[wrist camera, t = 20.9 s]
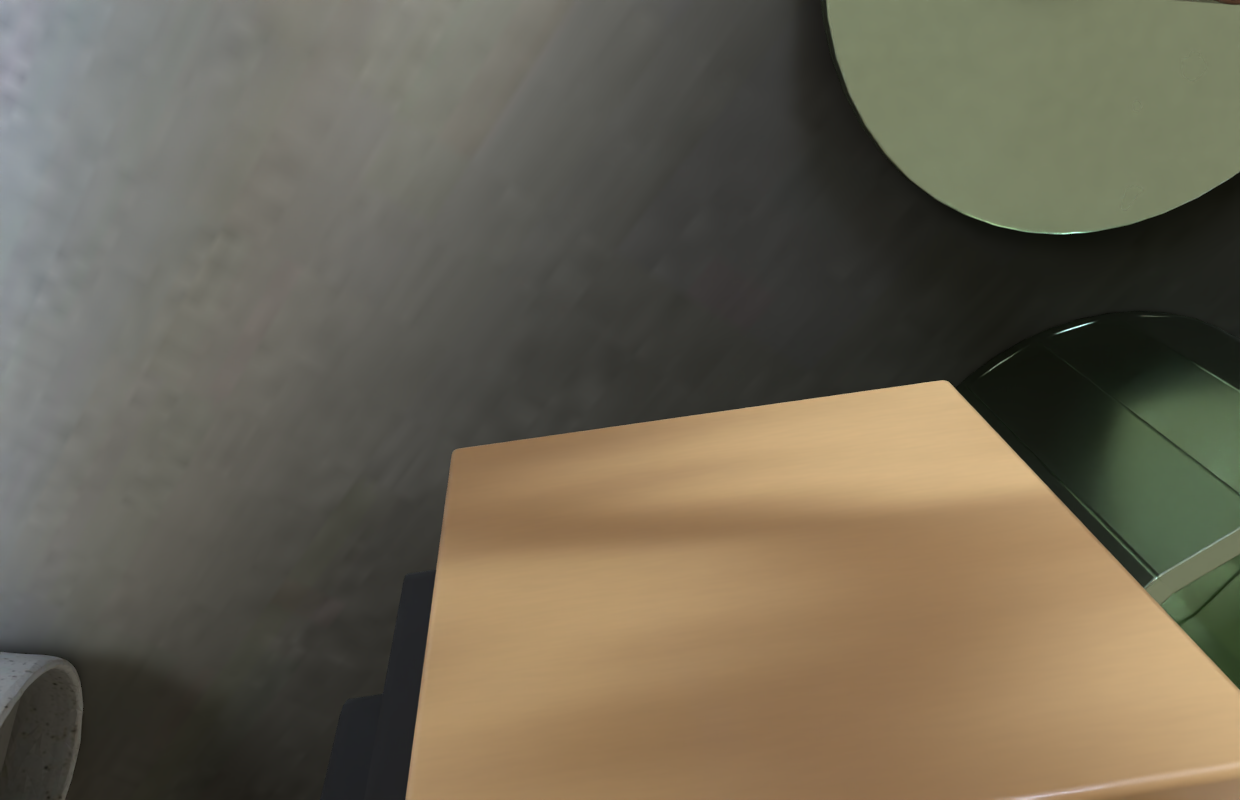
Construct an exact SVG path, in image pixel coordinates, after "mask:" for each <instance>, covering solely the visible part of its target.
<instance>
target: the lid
mask: <svg viewBox="0 0 1240 800" xmlns="http://www.w3.org/2000/svg"><path fill="white" fill-rule="evenodd" d="M821 10H822V19H823V23H824V28H825V33H826V38H827V42H828V47H829V52H830V56H831V59H832V62H833V65H834V67H835V70H836V73H837V76H838V79H839V82H840V84H841V87H842V90H843V92H844V94H845V96H846V98H847V100H848V102H849V104H850V106H851V108H852V110H853V112H854V114H855V116H856V118H857V120H858V121H859V123H860V125H861V126H862V128H863V129H864V130H865V132H866V133H867V135H868V136H869V137H870V139H871V140H872V142H873V143H874V144H875V146H876V147H877V149H878V150H879V151H880V153H881V154H882V155H883V156H884V157H885V158H886V159H887V160H888V161H889V162H890V163H891V164H892V165H893V166H894V167H895V168H896V169H897V170H898V171H899V172H900V173H901V174H902V175H903V176H904V177H905V178H906V179H908V180H909V181H910V182H912V183H913V184H914V185H916V186H917V187H918V188H920V189H921V190H922V191H924V192H925V193H926V194H927V195H929V196H930V197H932V198H934V199H935V200H937V201H939V202H941V203H943V204H944V205H946V206H948V207H950V208H952V209H954V210H955V211H957V212H959V213H961V214H963V215H965V216H968V217H971V218H973V219H976V220H979V221H982V222H984V223H987V224H990V225H993V226H996V227H1001V228H1006V229H1011V230H1016V231H1021V232H1026V233H1040V234H1056V235H1063V234H1076V233H1090V232H1097V231H1102V230H1107V229H1112V228H1117V227H1122V226H1127V225H1131V224H1134V223H1137V222H1140V221H1143V220H1146V219H1149V218H1152V217H1155V216H1158V215H1161V214H1164V213H1166V212H1168V211H1171V210H1173V209H1175V208H1177V207H1179V206H1181V205H1184V204H1186V203H1188V202H1190V201H1192V200H1195V199H1197V198H1199V197H1200V196H1202V195H1204V194H1205V193H1207V192H1209V191H1210V190H1212V189H1214V188H1215V187H1217V186H1219V185H1220V184H1222V183H1224V182H1225V181H1227V180H1229V179H1231V178H1232V177H1233V176H1235V175H1236V174H1237V173H1239V172H1240V0H821Z"/></svg>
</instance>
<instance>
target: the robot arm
mask: <svg viewBox="0 0 1240 800" xmlns="http://www.w3.org/2000/svg"><path fill="white" fill-rule="evenodd" d="M435 575H436V570H431V571H424V572H417V573H410V574H407V575H406V576H405V578H404V582H403V588H402V593H401V599H400V604H399V610H398V615H397V620H396V626H395V631H394V637H393V642H392V648H391V653H390V659H389V664H388V670H387V675H386V681H385V686H384V692H383V694H380V695H373V696H367V697H360V698H353V699H348V700H347V701H346V702H345V704H344V705H343V708H342V711H341V714H340V717H339V722H338V726H337V730H336V735H335V739H334V743H333V748H332V752H331V756H330V760H329V765H328V769H327V773H326V778H325V782H324V786H323V791H322V795H321V799H320V800H405V798H406V791H407V783H408V776H409V768H410V761H411V753H412V746H413V739H414V731H415V724H416V716H417V709H418V701H419V694H420V687H421V679H422V672H423V664H424V657H425V650H426V642H427V635H428V627H429V620H430V612H431V605H432V598H433V590H434V583H435Z"/></svg>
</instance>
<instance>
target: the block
mask: <svg viewBox="0 0 1240 800" xmlns="http://www.w3.org/2000/svg"><path fill="white" fill-rule="evenodd" d="M405 800H1240V690H1239V689H1238V688H1237V687H1236V685H1235V684H1234V683H1233V682H1232V681H1231V680H1230V679H1229V678H1228V677H1227V676H1226V675H1225V674H1224V673H1223V672H1222V671H1221V670H1220V669H1219V667H1218V666H1217V665H1216V664H1215V663H1214V662H1213V661H1212V660H1211V659H1210V658H1209V657H1208V656H1207V655H1206V654H1205V653H1204V652H1203V651H1202V649H1201V648H1200V647H1199V646H1198V645H1197V644H1196V643H1195V642H1194V641H1193V640H1192V639H1191V638H1190V637H1189V636H1188V635H1187V634H1186V633H1185V631H1184V630H1183V629H1182V628H1181V627H1180V626H1179V625H1178V624H1177V623H1176V622H1175V621H1174V620H1173V619H1172V618H1171V617H1170V616H1169V614H1168V613H1167V612H1166V611H1165V610H1164V609H1163V608H1162V607H1161V606H1160V605H1159V604H1158V603H1157V602H1156V601H1155V600H1154V599H1153V598H1152V596H1151V595H1150V594H1149V593H1148V592H1147V591H1146V590H1145V589H1144V588H1143V587H1142V586H1141V585H1140V584H1139V583H1138V582H1137V581H1136V580H1135V578H1134V577H1133V576H1132V575H1131V574H1130V573H1129V572H1128V571H1127V570H1126V569H1125V568H1124V567H1123V566H1122V565H1121V564H1120V563H1119V562H1118V560H1117V559H1116V558H1115V557H1114V556H1113V555H1112V554H1111V553H1110V552H1109V551H1108V550H1107V549H1106V548H1105V547H1104V546H1103V545H1102V544H1101V542H1100V541H1099V540H1098V539H1097V538H1096V537H1095V536H1094V535H1093V534H1092V533H1091V532H1090V531H1089V530H1088V529H1087V528H1086V527H1085V526H1084V524H1083V523H1082V522H1081V521H1080V520H1079V519H1078V518H1077V517H1076V516H1075V515H1074V514H1073V513H1072V512H1071V511H1070V510H1069V509H1068V508H1067V506H1066V505H1065V504H1064V503H1063V502H1062V501H1061V500H1060V499H1059V498H1058V497H1057V496H1056V495H1055V494H1054V493H1053V492H1052V491H1051V490H1050V488H1049V487H1048V486H1047V485H1046V484H1045V483H1044V482H1043V481H1042V480H1041V479H1040V478H1039V477H1038V476H1037V475H1036V474H1035V473H1034V471H1033V470H1032V469H1031V468H1030V467H1029V466H1028V465H1027V464H1026V463H1025V462H1024V461H1023V460H1022V459H1021V458H1020V457H1019V456H1018V455H1017V453H1016V452H1015V451H1014V450H1013V449H1012V448H1011V447H1010V446H1009V445H1008V444H1007V443H1006V442H1005V441H1004V440H1003V439H1002V438H1001V437H1000V435H999V434H998V433H997V432H996V431H995V430H994V429H993V428H992V427H991V426H990V425H989V424H988V423H987V422H986V421H985V420H984V419H983V417H982V416H981V415H980V414H979V413H978V412H977V411H976V410H975V409H974V408H973V407H972V406H971V405H970V404H969V403H968V402H967V401H966V399H965V398H964V397H963V396H962V395H961V394H960V393H959V392H958V391H957V390H956V389H955V388H954V387H953V386H952V385H951V384H950V383H949V382H948V381H944V380H940V381H933V382H926V383H919V384H912V385H905V386H898V387H891V388H884V389H876V390H869V391H862V392H855V393H848V394H841V395H834V396H827V397H820V398H813V399H806V400H799V401H792V402H785V403H778V404H771V405H763V406H756V407H749V408H742V409H735V410H728V411H721V412H714V413H707V414H700V415H693V416H686V417H679V418H672V419H665V420H658V421H650V422H643V423H636V424H629V425H622V426H615V427H608V428H601V429H594V430H587V431H580V432H573V433H566V434H559V435H552V436H545V437H537V438H530V439H523V440H516V441H509V442H502V443H495V444H488V445H481V446H474V447H467V448H460V449H456V450H454V451H453V452H452V457H451V464H450V471H449V479H448V486H447V494H446V501H445V508H444V516H443V523H442V531H441V538H440V546H439V553H438V560H437V568H436V575H435V583H434V590H433V598H432V605H431V612H430V620H429V627H428V635H427V642H426V650H425V657H424V664H423V672H422V679H421V687H420V694H419V701H418V709H417V716H416V724H415V731H414V739H413V746H412V753H411V761H410V768H409V776H408V783H407V791H406V798H405Z"/></svg>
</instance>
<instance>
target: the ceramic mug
mask: <svg viewBox="0 0 1240 800" xmlns="http://www.w3.org/2000/svg"><path fill="white" fill-rule="evenodd" d="M82 715H83V698H82V688H81V682H80V679H79V676H78V674H77V671H76V669H75V667H74V666H73V665H72V664H71V663H70V662H69V661H67V660H65V659H62V658H59V657H55V656H49V655H35V654H19V653H8V652H0V800H65V798H66V795H67V792H68V789H69V786H70V783H71V780H72V776H73V771H74V768H75V764H76V760H77V756H78V751H79V747H80V742H81V728H82Z"/></svg>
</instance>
